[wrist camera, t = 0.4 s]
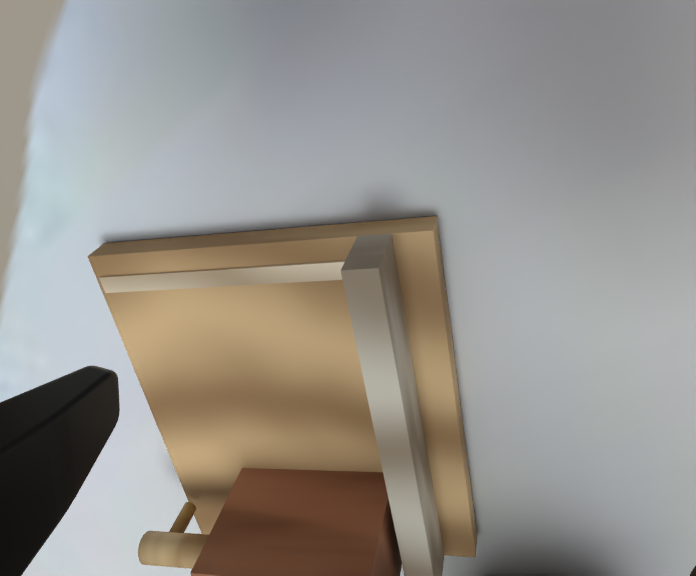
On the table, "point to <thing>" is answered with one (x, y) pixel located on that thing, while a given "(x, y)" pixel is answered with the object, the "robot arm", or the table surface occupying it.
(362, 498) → the brown block with peg
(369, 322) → the board
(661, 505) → the table surface
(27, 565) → the robot arm
